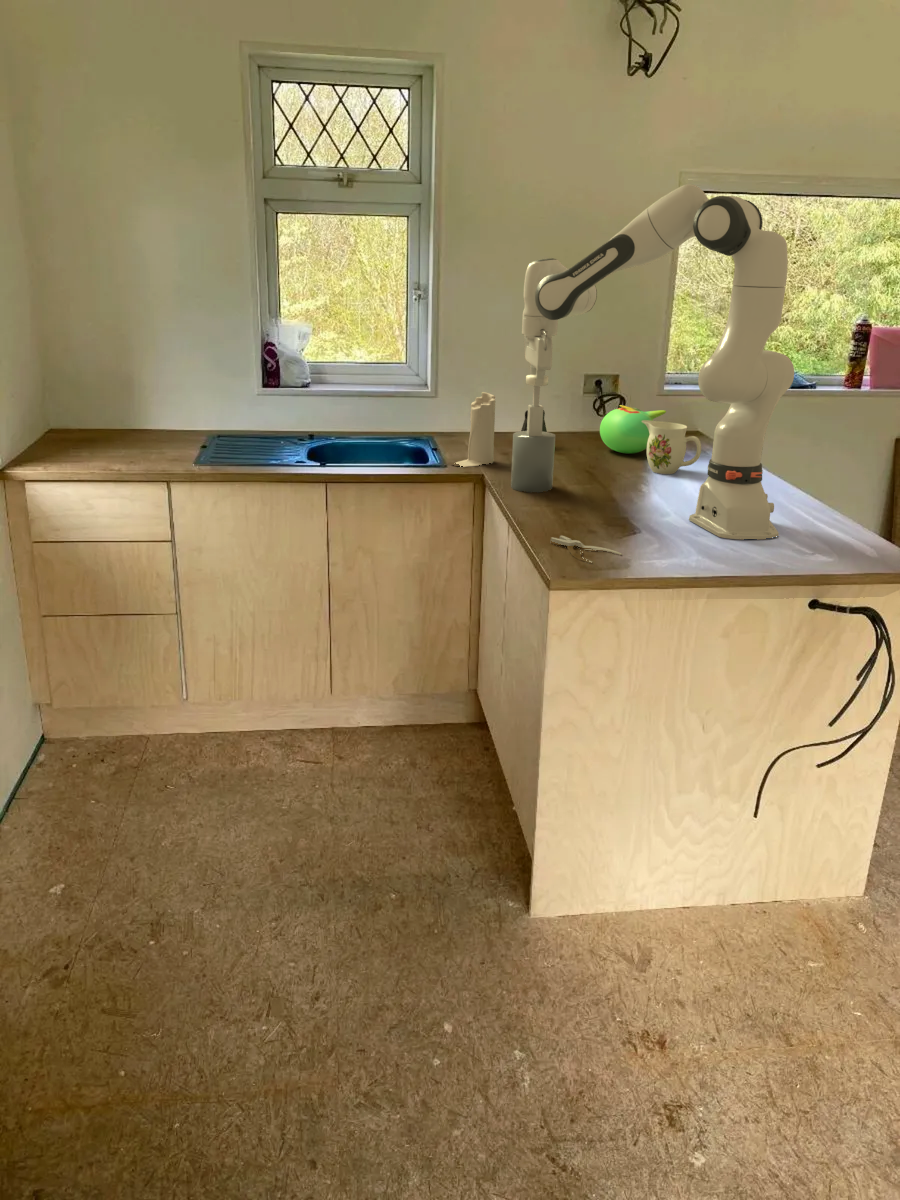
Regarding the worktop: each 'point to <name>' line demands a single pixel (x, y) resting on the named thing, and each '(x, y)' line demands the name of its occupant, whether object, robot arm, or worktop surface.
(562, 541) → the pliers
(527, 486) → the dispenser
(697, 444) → the pitcher
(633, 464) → the worktop surface
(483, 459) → the candle
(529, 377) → the pump head
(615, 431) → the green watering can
